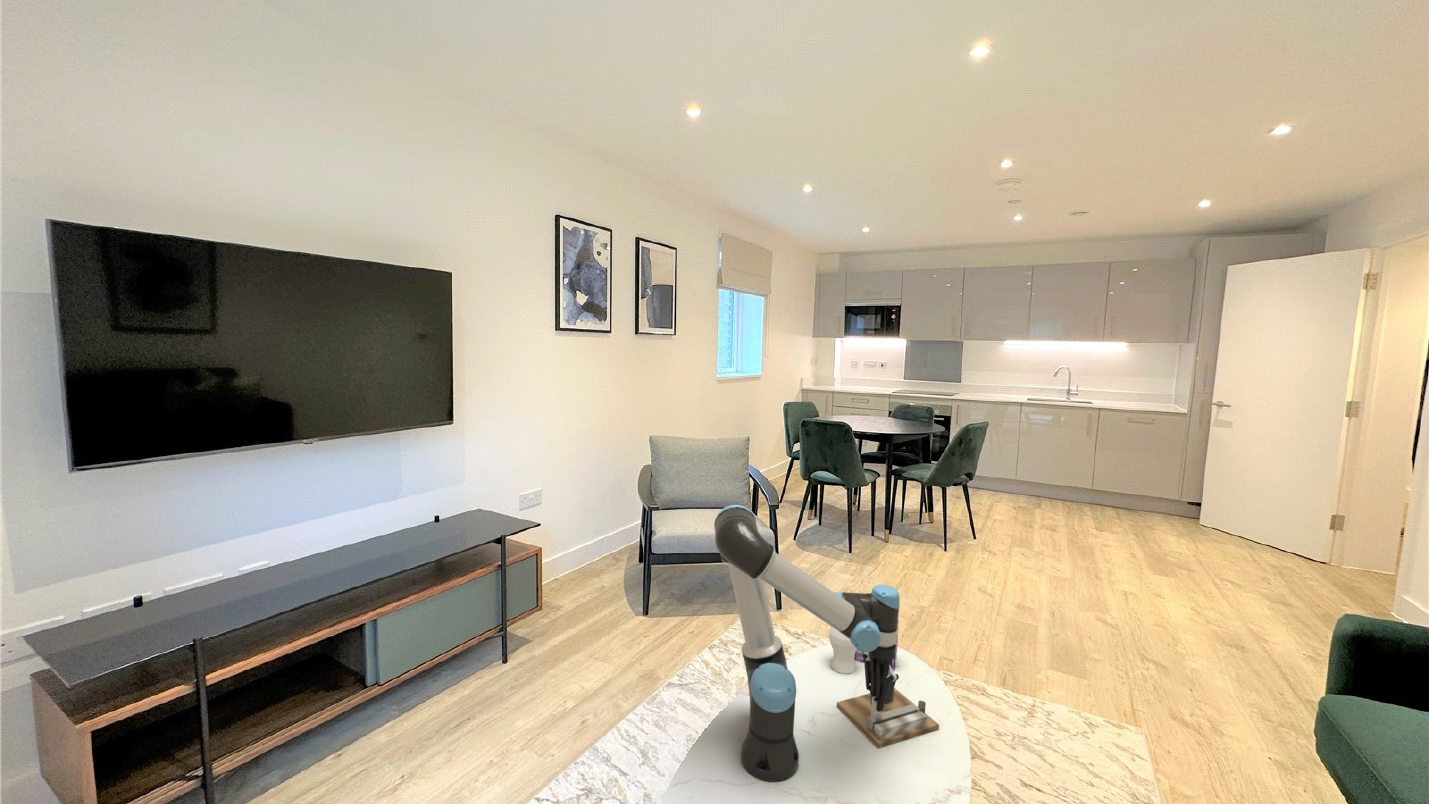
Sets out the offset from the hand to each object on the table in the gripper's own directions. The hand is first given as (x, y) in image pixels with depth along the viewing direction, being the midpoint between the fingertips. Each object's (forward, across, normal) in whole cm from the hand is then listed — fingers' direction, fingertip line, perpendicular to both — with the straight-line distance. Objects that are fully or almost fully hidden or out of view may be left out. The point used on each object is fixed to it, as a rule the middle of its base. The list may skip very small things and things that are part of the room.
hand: (875, 718), depth 159 cm
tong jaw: (+1, -2, -5) cm, 5 cm away
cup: (+3, +29, -10) cm, 31 cm away
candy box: (+3, +28, -23) cm, 37 cm away
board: (+3, +3, -6) cm, 7 cm away
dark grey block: (+1, +8, -9) cm, 12 cm away
